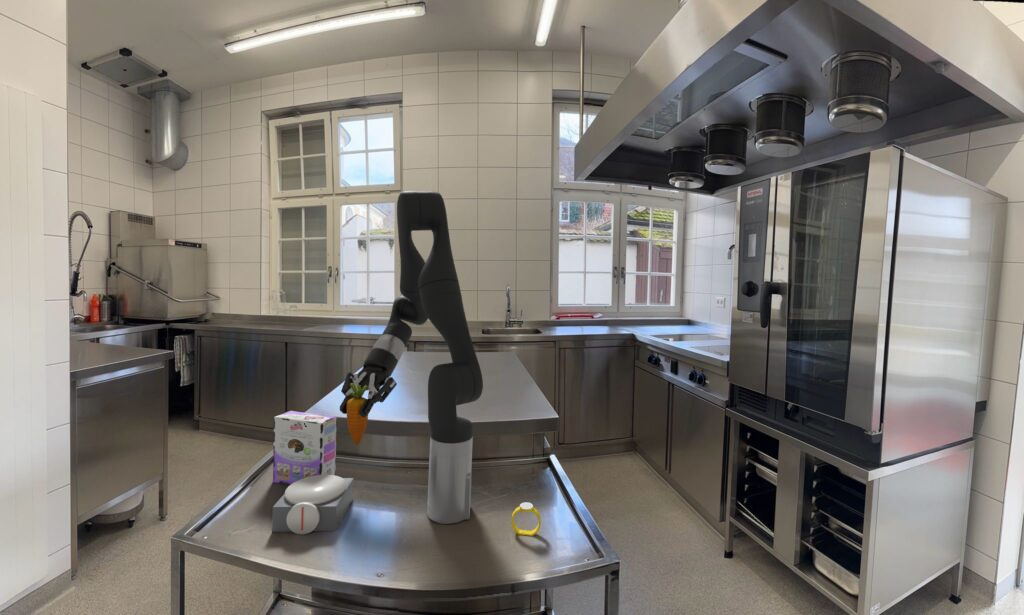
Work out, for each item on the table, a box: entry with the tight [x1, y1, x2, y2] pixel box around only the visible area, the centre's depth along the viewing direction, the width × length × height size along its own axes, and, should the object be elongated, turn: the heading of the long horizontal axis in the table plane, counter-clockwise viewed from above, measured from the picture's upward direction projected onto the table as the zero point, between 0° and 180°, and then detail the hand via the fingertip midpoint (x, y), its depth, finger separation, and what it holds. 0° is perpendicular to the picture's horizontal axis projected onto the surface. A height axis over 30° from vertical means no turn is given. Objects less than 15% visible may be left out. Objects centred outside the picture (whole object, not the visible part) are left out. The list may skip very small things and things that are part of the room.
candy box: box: [272, 410, 338, 486], centre depth 99 cm, size 14×6×16 cm, turn 77°
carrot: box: [346, 383, 369, 446], centre depth 97 cm, size 5×5×15 cm
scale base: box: [271, 477, 354, 535], centre depth 85 cm, size 12×13×6 cm
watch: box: [510, 502, 542, 537], centre depth 83 cm, size 6×3×6 cm, turn 84°
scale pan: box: [284, 474, 346, 505], centre depth 86 cm, size 12×12×1 cm
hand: (352, 413), depth 95 cm, fingers closed on carrot, 5 cm apart
